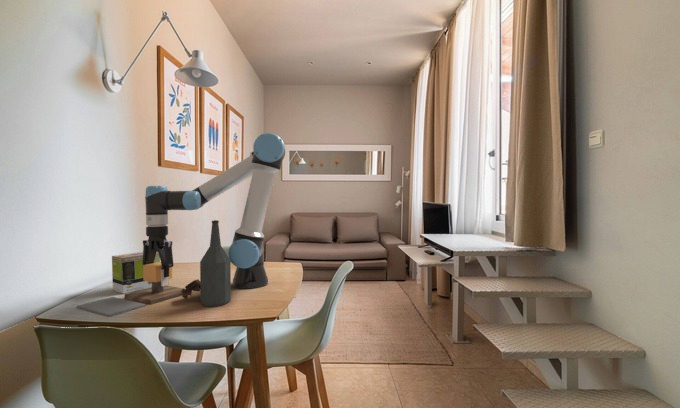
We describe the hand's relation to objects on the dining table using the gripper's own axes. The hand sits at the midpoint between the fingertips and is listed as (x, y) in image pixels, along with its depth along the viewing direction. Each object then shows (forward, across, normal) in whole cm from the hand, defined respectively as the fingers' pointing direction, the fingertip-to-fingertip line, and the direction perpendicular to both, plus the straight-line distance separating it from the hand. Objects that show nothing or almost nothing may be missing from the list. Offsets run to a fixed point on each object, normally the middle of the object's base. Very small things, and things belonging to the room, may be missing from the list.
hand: (158, 284), depth 132 cm
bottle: (+5, +27, +2) cm, 28 cm away
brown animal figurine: (+5, +17, +4) cm, 18 cm away
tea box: (+5, -18, +4) cm, 19 cm away
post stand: (+4, 0, 0) cm, 4 cm away
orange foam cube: (-2, 0, 0) cm, 2 cm away
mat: (+4, -3, -16) cm, 17 cm away
